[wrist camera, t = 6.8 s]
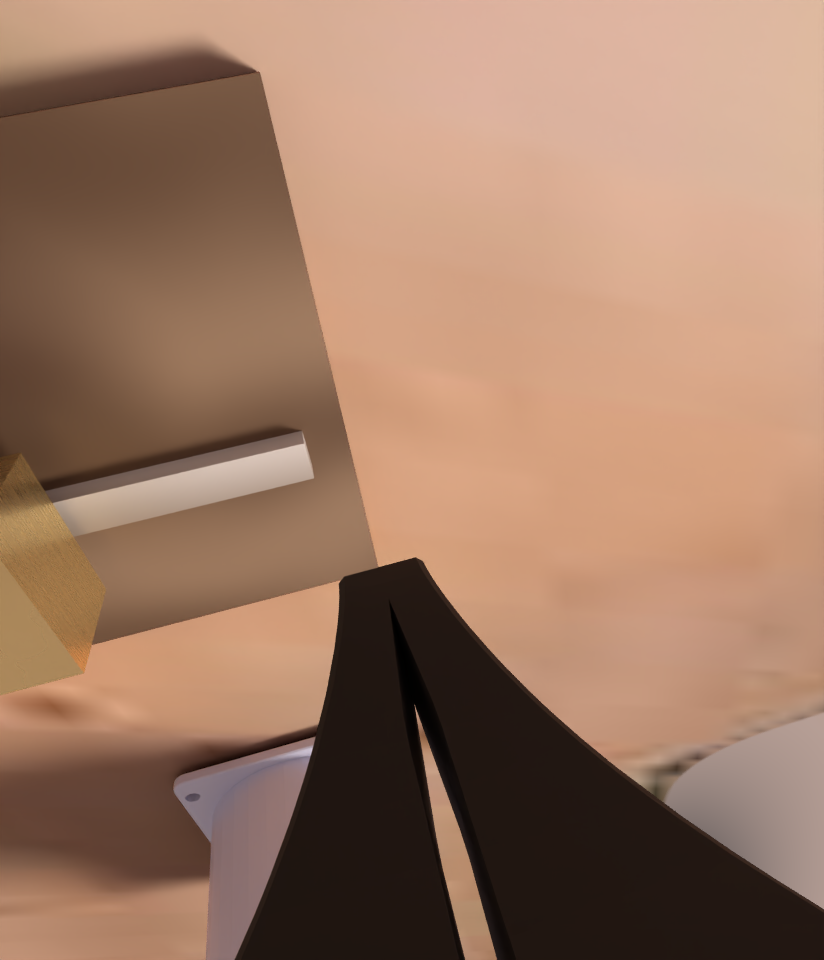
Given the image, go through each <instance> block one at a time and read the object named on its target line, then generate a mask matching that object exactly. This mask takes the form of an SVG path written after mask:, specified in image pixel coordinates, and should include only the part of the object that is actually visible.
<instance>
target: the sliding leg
mask: <svg viewBox="0 0 824 960" xmlns="http://www.w3.org/2000/svg"><path fill="white" fill-rule="evenodd" d="M105 592H106V588H105V587H104V585H103V583H102V582H101V580H100V578H99V577H98V575H97V574H96V572H95V570H94V569H93V567H92V566H91V564H90V562H89V561H88V559H87V558H86V556H85V554H84V553H83V551H82V550H81V548H80V546H79V545H78V543H77V542H76V540H75V538H74V537H73V535H72V533H71V532H70V530H69V529H68V527H67V525H66V524H65V522H64V521H63V519H62V517H61V516H60V514H59V513H58V511H57V509H56V508H55V506H54V505H53V503H52V501H51V500H50V498H49V497H48V495H47V493H46V492H45V490H44V488H43V487H42V485H41V484H40V482H39V480H38V479H37V477H36V476H35V474H34V472H33V471H32V469H31V468H30V466H29V464H28V463H27V461H26V460H25V458H24V456H23V455H22V453H21V452H20V453H16V454H11V455H7V456H2V457H0V695H3V694H7V693H11V692H15V691H18V690H22V689H26V688H30V687H34V686H37V685H41V684H45V683H49V682H53V681H56V680H60V679H64V678H68V677H71V676H75V675H79V674H83V673H84V671H85V667H86V664H87V660H88V656H89V652H90V649H91V645H92V641H93V637H94V634H95V630H96V626H97V622H98V619H99V615H100V611H101V607H102V604H103V600H104V596H105Z"/></svg>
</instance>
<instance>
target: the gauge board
mask: <svg viewBox="0 0 824 960" xmlns="http://www.w3.org/2000/svg"><path fill="white" fill-rule="evenodd" d="M20 452H21V453H22V455H23V456H24V458H25V460H26V461H27V463H28V464H29V466H30V468H31V469H32V471H33V472H34V474H35V476H36V477H37V479H38V480H39V482H40V484H41V485H42V487H43V488H44V490H45V492H46V493H47V495H48V497H49V498H50V500H51V501H52V503H53V505H54V506H55V508H56V509H57V511H58V513H59V514H60V516H61V517H62V519H63V521H64V522H65V524H66V525H67V527H68V529H69V530H70V532H71V533H72V535H73V537H74V538H75V540H76V542H77V543H78V545H79V546H80V548H81V550H82V551H83V553H84V554H85V556H86V558H87V559H88V561H89V562H90V564H91V566H92V567H93V569H94V570H95V572H96V574H97V575H98V577H99V578H100V580H101V582H102V583H103V585H104V587H105V588H106V592H105V596H104V600H103V604H102V607H101V611H100V615H99V619H98V622H97V626H96V630H95V634H94V637H93V641H92V645H94V644H97V643H101V642H105V641H109V640H113V639H117V638H121V637H124V636H128V635H132V634H136V633H140V632H144V631H147V630H151V629H155V628H159V627H163V626H167V625H170V624H174V623H178V622H182V621H186V620H190V619H193V618H197V617H201V616H205V615H209V614H213V613H217V612H220V611H224V610H228V609H232V608H236V607H240V606H243V605H247V604H251V603H255V602H259V601H263V600H266V599H270V598H274V597H278V596H282V595H286V594H289V593H293V592H297V591H301V590H305V589H309V588H312V587H316V586H320V585H324V584H328V583H332V582H336V581H339V580H342V579H343V577H344V576H348V575H352V574H355V573H359V572H363V571H367V570H370V569H374V568H378V564H377V559H376V555H375V551H374V547H373V543H372V539H371V534H370V530H369V526H368V522H367V518H366V513H365V509H364V505H363V501H362V497H361V493H360V488H359V484H358V480H357V476H356V472H355V468H354V463H353V459H352V455H351V451H350V447H349V443H348V438H347V434H346V430H345V426H344V422H343V417H342V413H341V409H340V405H339V401H338V397H337V392H336V388H335V384H334V380H333V376H332V372H331V367H330V363H329V359H328V355H327V351H326V346H325V342H324V338H323V334H322V330H321V326H320V321H319V317H318V313H317V309H316V305H315V301H314V296H313V292H312V288H311V284H310V280H309V276H308V271H307V267H306V263H305V259H304V255H303V250H302V246H301V242H300V238H299V234H298V230H297V225H296V221H295V217H294V213H293V209H292V205H291V200H290V196H289V192H288V188H287V184H286V179H285V175H284V171H283V167H282V163H281V159H280V154H279V150H278V146H277V142H276V138H275V134H274V129H273V125H272V121H271V117H270V113H269V109H268V104H267V100H266V96H265V92H264V88H263V83H262V79H261V75H260V72H254V73H249V74H243V75H237V76H232V77H226V78H220V79H215V80H209V81H203V82H198V83H192V84H186V85H181V86H175V87H169V88H164V89H158V90H152V91H147V92H141V93H135V94H130V95H124V96H118V97H113V98H107V99H101V100H96V101H90V102H84V103H79V104H73V105H67V106H62V107H56V108H50V109H45V110H39V111H33V112H28V113H22V114H16V115H11V116H5V117H0V457H2V456H7V455H11V454H16V453H20Z"/></svg>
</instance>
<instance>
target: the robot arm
mask: <svg viewBox="0 0 824 960" xmlns="http://www.w3.org/2000/svg"><path fill="white" fill-rule="evenodd" d="M414 704H415V706H414ZM415 707H416V710H417V712H418V715H419V718H420V721H421V723H422V726H423V729H424V732H425V734H426V737H427V740H428V743H429V745H430V748H431V751H432V754H433V756H434V759H435V762H436V765H437V767H438V770H439V773H440V776H441V778H442V781H443V784H444V787H445V789H446V792H447V795H448V798H449V800H450V803H451V806H452V809H453V811H454V814H455V817H456V820H457V822H458V825H459V828H460V831H461V834H462V837H463V840H464V843H465V846H466V849H467V853H468V856H469V859H470V862H471V866H472V870H473V873H474V877H475V880H476V884H477V888H478V891H479V895H480V899H481V902H482V906H483V910H484V913H485V917H486V920H487V924H488V928H489V931H490V935H491V939H492V942H493V946H494V950H495V953H496V957H497V960H824V909H822V908H821V907H819V906H818V905H816V904H815V903H813V902H811V901H810V900H808V899H806V898H805V897H803V896H802V895H800V894H798V893H797V892H795V891H794V890H792V889H790V888H789V887H787V886H786V885H784V884H782V883H781V882H779V881H777V880H776V879H774V878H773V877H771V876H770V875H768V874H767V873H765V872H764V871H762V870H760V869H759V868H757V867H756V866H754V865H753V864H751V863H750V862H748V861H747V860H745V859H744V858H742V857H740V856H739V855H737V854H736V853H734V852H733V851H731V850H730V849H728V848H727V847H726V846H724V845H723V844H721V843H720V842H718V841H717V840H715V839H714V838H712V837H711V836H710V835H708V834H707V833H705V832H704V831H702V830H701V829H699V828H698V827H696V826H695V825H694V824H692V823H691V822H689V821H688V820H686V819H685V818H683V817H682V816H681V815H679V814H678V813H677V812H675V811H674V810H673V809H671V808H670V807H669V806H667V805H666V804H665V803H663V802H662V801H661V800H659V799H658V798H657V797H655V796H654V795H653V794H651V793H650V792H649V791H647V790H646V789H645V788H643V787H642V786H641V785H639V784H638V783H637V782H635V781H634V780H633V779H631V778H630V777H629V776H627V775H626V774H625V773H623V772H622V771H621V770H619V769H618V768H617V767H615V766H614V765H613V764H612V763H610V762H609V761H608V760H607V759H606V758H604V757H603V756H602V755H601V754H600V753H598V752H597V751H596V750H595V749H593V748H592V747H591V746H590V745H589V744H587V743H586V742H585V741H584V740H583V739H581V738H580V737H579V736H578V735H577V734H576V733H574V732H573V731H572V730H571V729H570V728H569V727H568V726H567V725H565V724H564V723H563V722H562V721H561V720H560V719H559V718H557V717H556V716H555V715H554V714H553V713H552V712H551V711H550V710H549V709H548V708H547V707H545V706H544V705H543V704H542V703H541V702H540V701H539V700H538V699H537V698H536V697H535V696H534V695H533V694H532V693H531V692H530V691H529V690H528V689H527V688H526V687H525V686H524V685H523V684H522V683H521V682H520V681H519V680H518V679H517V678H516V677H515V676H514V675H513V674H512V673H511V672H510V671H509V670H508V669H507V668H506V667H505V666H504V665H503V664H502V663H501V662H500V661H499V660H498V659H497V658H496V657H495V655H494V654H493V653H492V652H491V651H490V650H489V649H488V648H487V647H486V645H485V644H484V643H483V642H482V641H481V640H480V639H479V637H478V636H477V635H476V634H475V633H474V632H473V631H472V629H471V628H470V627H469V626H468V625H467V624H466V622H465V621H464V620H463V619H462V617H461V616H460V615H459V614H458V613H457V611H456V610H455V609H454V607H453V606H452V605H451V603H450V602H449V601H448V599H447V598H446V597H445V595H444V594H443V593H442V591H441V590H440V588H439V587H438V586H437V584H436V583H435V581H434V580H433V578H432V576H431V575H430V573H429V572H428V570H427V568H426V566H425V565H424V563H423V561H422V560H420V559H418V558H416V557H415V558H412V559H408V560H404V561H400V562H397V563H393V564H389V565H385V566H382V567H378V568H374V569H370V570H367V571H363V572H359V573H355V574H352V575H348V576H344V577H343V579H342V580H341V581H340V583H339V615H338V626H337V634H336V641H335V649H334V654H333V660H332V665H331V671H330V676H329V682H328V687H327V692H326V697H325V701H324V705H323V709H322V713H321V717H320V721H319V725H318V729H317V733H316V737H312V738H309V739H305V740H302V741H298V742H294V743H291V744H287V745H284V746H280V747H277V748H273V749H270V750H266V751H263V752H259V753H256V754H252V755H249V756H245V757H242V758H238V759H235V760H231V761H228V762H224V763H221V764H217V765H214V766H210V767H207V768H203V769H200V770H196V771H193V772H189V773H185V774H183V775H180V776H179V777H178V778H176V779H175V781H174V788H173V791H174V794H175V795H176V797H177V798H178V799H179V801H180V802H181V803H182V805H183V806H184V807H185V809H186V810H187V812H188V813H189V814H190V816H191V817H192V818H193V820H194V821H195V822H196V824H197V825H198V826H199V828H200V829H201V831H202V832H203V833H204V835H205V836H206V837H207V839H208V840H209V841H210V843H211V858H210V880H209V902H208V923H207V945H206V960H465V957H464V953H463V949H462V945H461V941H460V937H459V933H458V929H457V925H456V921H455V917H454V913H453V909H452V905H451V901H450V897H449V893H448V889H447V884H446V880H445V876H444V872H443V868H442V863H441V859H440V854H439V849H438V844H437V839H436V833H435V827H434V821H433V815H432V809H431V803H430V797H429V790H428V784H427V778H426V772H425V766H424V760H423V754H422V748H421V742H420V736H419V730H418V724H417V718H416V712H415Z"/></svg>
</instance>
